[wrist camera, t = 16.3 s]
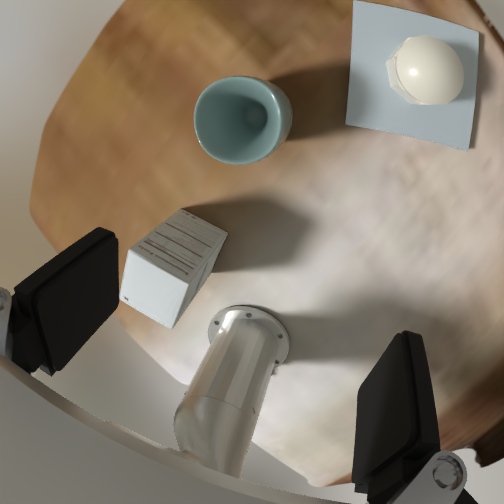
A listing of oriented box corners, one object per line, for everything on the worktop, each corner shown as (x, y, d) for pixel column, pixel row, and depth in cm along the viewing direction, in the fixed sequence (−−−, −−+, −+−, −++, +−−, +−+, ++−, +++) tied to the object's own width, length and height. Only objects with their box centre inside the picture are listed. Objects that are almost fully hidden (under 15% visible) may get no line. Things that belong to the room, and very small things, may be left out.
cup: (296, 79, 31) (281, 71, 22) (299, 148, 34) (285, 166, 26) (226, 83, 33) (188, 80, 24) (231, 148, 36) (196, 167, 28)
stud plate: (463, 149, 29) (482, 158, 24) (345, 123, 32) (346, 127, 27) (473, 34, 22) (493, 26, 18) (353, 4, 25) (355, -12, 20)
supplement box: (211, 274, 45) (171, 332, 34) (165, 249, 45) (116, 299, 34) (230, 232, 41) (190, 285, 30) (180, 205, 41) (126, 248, 30)
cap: (408, 32, 24) (421, 21, 19) (456, 73, 24) (475, 70, 20) (375, 75, 27) (383, 71, 22) (423, 115, 28) (439, 119, 23)
